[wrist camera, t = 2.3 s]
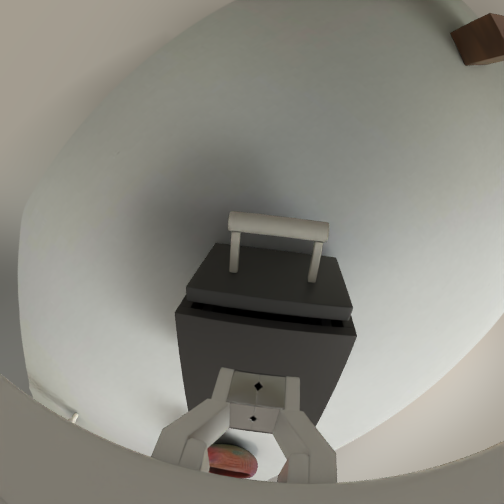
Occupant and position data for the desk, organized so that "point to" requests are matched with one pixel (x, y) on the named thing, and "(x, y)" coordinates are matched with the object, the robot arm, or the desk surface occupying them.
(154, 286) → the desk surface
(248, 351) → the drawer cabinet
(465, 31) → the walnut block
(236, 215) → the drawer
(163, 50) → the desk surface
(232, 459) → the bowl
